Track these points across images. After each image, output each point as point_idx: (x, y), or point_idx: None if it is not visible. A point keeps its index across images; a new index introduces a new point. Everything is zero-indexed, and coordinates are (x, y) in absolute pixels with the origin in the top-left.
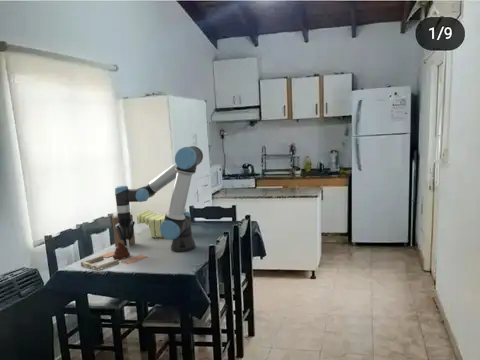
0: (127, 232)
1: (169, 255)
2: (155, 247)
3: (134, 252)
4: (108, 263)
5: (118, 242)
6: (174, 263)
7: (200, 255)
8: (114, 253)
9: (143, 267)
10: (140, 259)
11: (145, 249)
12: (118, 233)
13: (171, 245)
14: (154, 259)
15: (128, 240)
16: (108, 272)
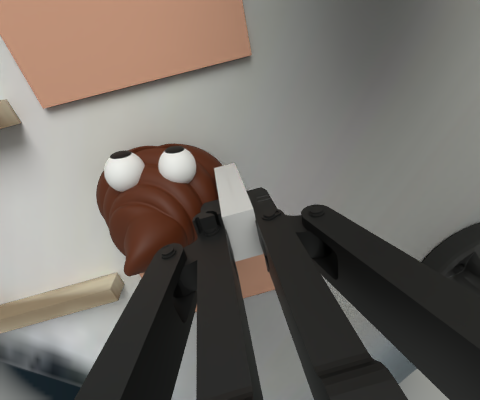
0: (290, 328)
1: (360, 314)
2: (441, 134)
3: (288, 136)
4: (48, 318)
5: (127, 269)
6: (306, 388)
7: (410, 365)
8: (139, 33)
9: None
10: (242, 295)
11: (377, 125)
12: (108, 364)
13: (457, 263)
14: None
15: (256, 251)
16: (51, 366)
